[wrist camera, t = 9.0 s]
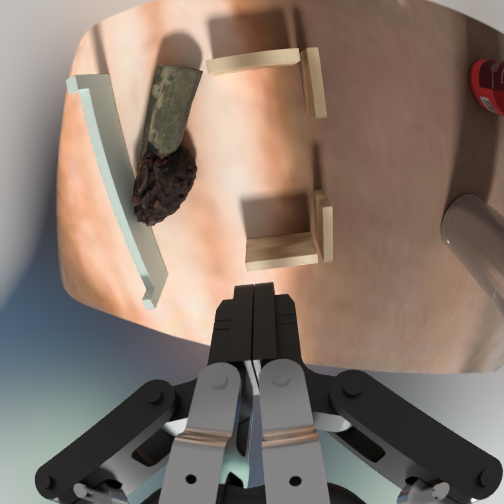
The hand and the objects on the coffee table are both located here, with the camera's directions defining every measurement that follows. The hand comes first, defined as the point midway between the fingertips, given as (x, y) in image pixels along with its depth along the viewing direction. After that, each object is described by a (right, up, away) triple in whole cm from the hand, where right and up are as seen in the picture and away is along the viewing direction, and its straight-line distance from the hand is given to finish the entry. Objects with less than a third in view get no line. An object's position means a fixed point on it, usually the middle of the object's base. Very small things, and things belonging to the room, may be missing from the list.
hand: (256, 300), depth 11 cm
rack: (-15, +10, +20) cm, 27 cm away
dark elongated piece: (-9, +14, +18) cm, 24 cm away
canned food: (+31, +24, +10) cm, 41 cm away
